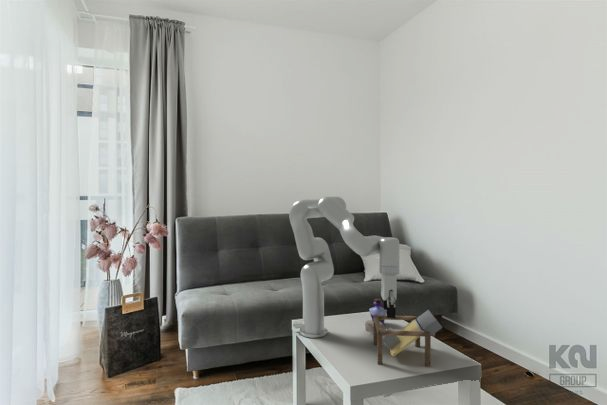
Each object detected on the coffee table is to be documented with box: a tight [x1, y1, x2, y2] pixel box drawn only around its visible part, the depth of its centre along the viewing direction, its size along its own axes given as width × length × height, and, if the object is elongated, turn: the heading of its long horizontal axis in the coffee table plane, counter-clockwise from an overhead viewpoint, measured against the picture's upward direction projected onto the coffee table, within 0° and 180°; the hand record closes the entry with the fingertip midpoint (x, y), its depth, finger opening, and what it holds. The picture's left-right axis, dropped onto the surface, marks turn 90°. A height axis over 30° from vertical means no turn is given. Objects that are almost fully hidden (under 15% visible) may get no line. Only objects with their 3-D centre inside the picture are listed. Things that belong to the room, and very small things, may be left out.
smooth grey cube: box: [382, 326, 400, 351], centre depth 141 cm, size 5×5×5 cm
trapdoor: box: [389, 309, 443, 358], centre depth 140 cm, size 21×14×4 cm
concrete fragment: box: [364, 319, 387, 334], centre depth 162 cm, size 7×14×6 cm, turn 11°
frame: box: [372, 314, 432, 368], centre depth 140 cm, size 19×19×12 cm
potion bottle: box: [369, 298, 387, 324], centre depth 174 cm, size 9×9×12 cm
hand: (389, 313), depth 141 cm, fingers open, 9 cm apart
